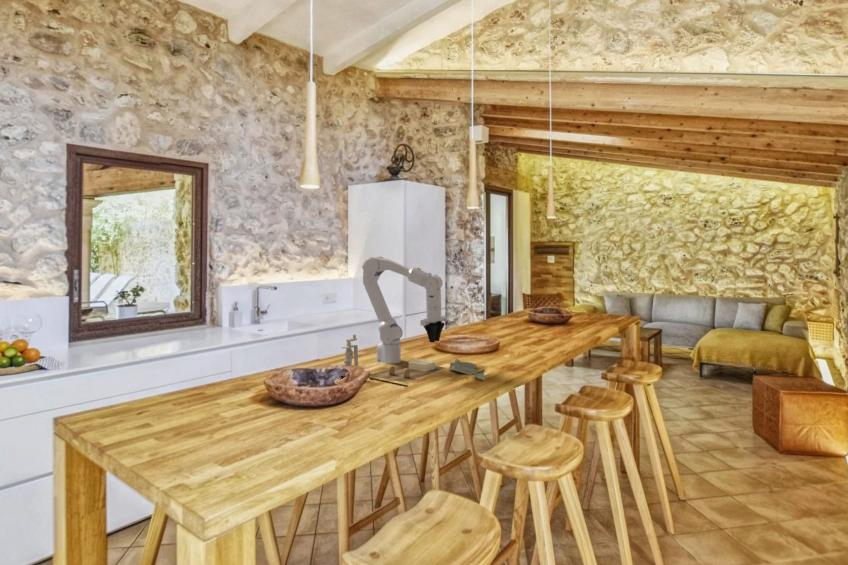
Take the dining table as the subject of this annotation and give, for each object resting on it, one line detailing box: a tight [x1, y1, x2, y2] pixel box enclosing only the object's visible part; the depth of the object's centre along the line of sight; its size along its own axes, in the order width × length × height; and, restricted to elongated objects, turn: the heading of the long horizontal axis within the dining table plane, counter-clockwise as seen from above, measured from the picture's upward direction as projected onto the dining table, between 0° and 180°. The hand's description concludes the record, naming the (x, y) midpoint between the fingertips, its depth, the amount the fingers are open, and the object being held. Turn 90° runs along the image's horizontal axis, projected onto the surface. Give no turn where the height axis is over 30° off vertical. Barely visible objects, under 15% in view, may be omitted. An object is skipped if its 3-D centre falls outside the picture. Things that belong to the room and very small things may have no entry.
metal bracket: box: [448, 358, 486, 381], centre depth 180 cm, size 14×6×15 cm
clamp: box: [341, 334, 359, 367], centre depth 179 cm, size 4×10×15 cm, turn 160°
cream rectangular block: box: [408, 358, 436, 372], centre depth 184 cm, size 8×6×2 cm
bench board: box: [368, 362, 446, 388], centre depth 180 cm, size 17×24×4 cm
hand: (434, 341), depth 189 cm, fingers open, 2 cm apart
